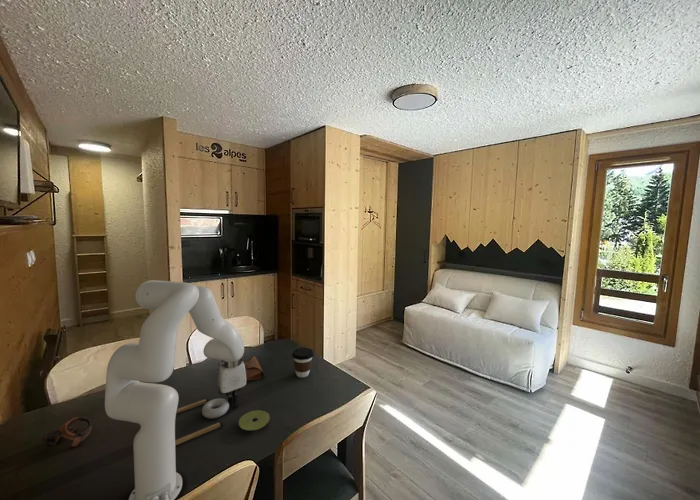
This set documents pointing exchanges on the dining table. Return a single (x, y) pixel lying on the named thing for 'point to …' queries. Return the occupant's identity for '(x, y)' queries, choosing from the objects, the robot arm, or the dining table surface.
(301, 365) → the coffee cup
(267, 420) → the mat
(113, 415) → the robot arm
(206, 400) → the frame
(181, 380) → the dining table surface
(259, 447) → the dining table surface
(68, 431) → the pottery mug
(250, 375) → the sunglasses case
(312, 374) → the dining table surface
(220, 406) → the donut
